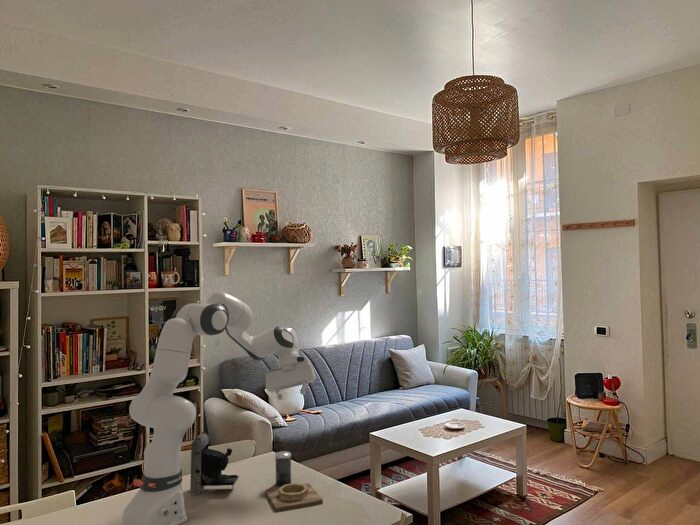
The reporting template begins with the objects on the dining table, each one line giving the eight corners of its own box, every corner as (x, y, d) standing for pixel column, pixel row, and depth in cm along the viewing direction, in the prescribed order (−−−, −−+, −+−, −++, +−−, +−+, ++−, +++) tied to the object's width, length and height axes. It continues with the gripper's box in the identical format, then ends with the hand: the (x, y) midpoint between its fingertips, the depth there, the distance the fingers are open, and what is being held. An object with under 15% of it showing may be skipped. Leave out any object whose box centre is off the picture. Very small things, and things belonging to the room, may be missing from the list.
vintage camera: (232, 497, 188) (234, 439, 188) (189, 495, 188) (191, 438, 189) (239, 486, 197) (240, 432, 198) (197, 485, 198) (199, 431, 198)
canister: (286, 487, 194) (285, 457, 194) (272, 485, 196) (272, 455, 196) (294, 482, 199) (293, 452, 199) (280, 480, 201) (280, 450, 202)
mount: (322, 503, 180) (322, 493, 180) (276, 511, 174) (275, 501, 174) (309, 486, 195) (308, 477, 195) (265, 493, 189) (265, 484, 189)
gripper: (262, 367, 217) (263, 399, 208) (310, 355, 214) (313, 387, 206) (268, 374, 222) (269, 405, 213) (315, 362, 219) (318, 393, 211)
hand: (291, 396), depth 209 cm, fingers open, 8 cm apart
